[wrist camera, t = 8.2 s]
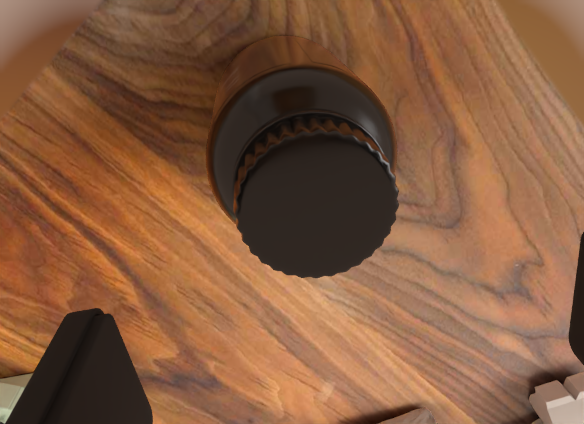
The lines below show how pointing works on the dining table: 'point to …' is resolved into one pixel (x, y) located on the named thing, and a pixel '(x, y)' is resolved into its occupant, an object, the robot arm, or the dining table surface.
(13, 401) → the scale
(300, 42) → the supplement bottle
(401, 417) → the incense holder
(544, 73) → the dining table surface
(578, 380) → the bunny figurine
